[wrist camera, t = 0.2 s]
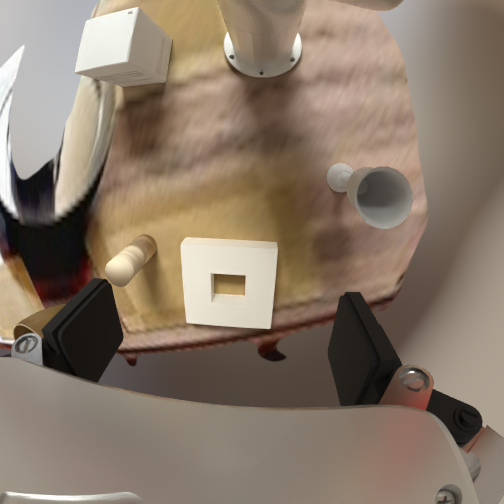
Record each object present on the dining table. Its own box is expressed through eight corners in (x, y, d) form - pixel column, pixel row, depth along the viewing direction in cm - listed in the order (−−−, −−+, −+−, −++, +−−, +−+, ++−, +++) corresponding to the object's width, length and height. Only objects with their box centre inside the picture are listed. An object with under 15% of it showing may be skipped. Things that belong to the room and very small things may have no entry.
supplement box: (128, 44, 35) (84, 19, 21) (173, 38, 35) (140, 4, 21) (120, 88, 38) (72, 74, 24) (166, 84, 38) (127, 62, 24)
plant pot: (101, 326, 57) (69, 369, 42) (75, 345, 61) (47, 383, 46) (61, 279, 53) (21, 314, 38) (40, 304, 57) (7, 337, 42)
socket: (185, 237, 48) (180, 244, 45) (276, 241, 48) (277, 249, 45) (190, 312, 54) (186, 322, 51) (270, 318, 54) (270, 328, 50)
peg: (134, 234, 48) (103, 259, 37) (155, 234, 48) (127, 261, 37) (137, 255, 50) (108, 285, 39) (157, 257, 50) (131, 288, 39)
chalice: (366, 167, 42) (420, 183, 25) (352, 203, 45) (399, 237, 28) (327, 151, 42) (367, 155, 25) (314, 188, 44) (344, 215, 27)
